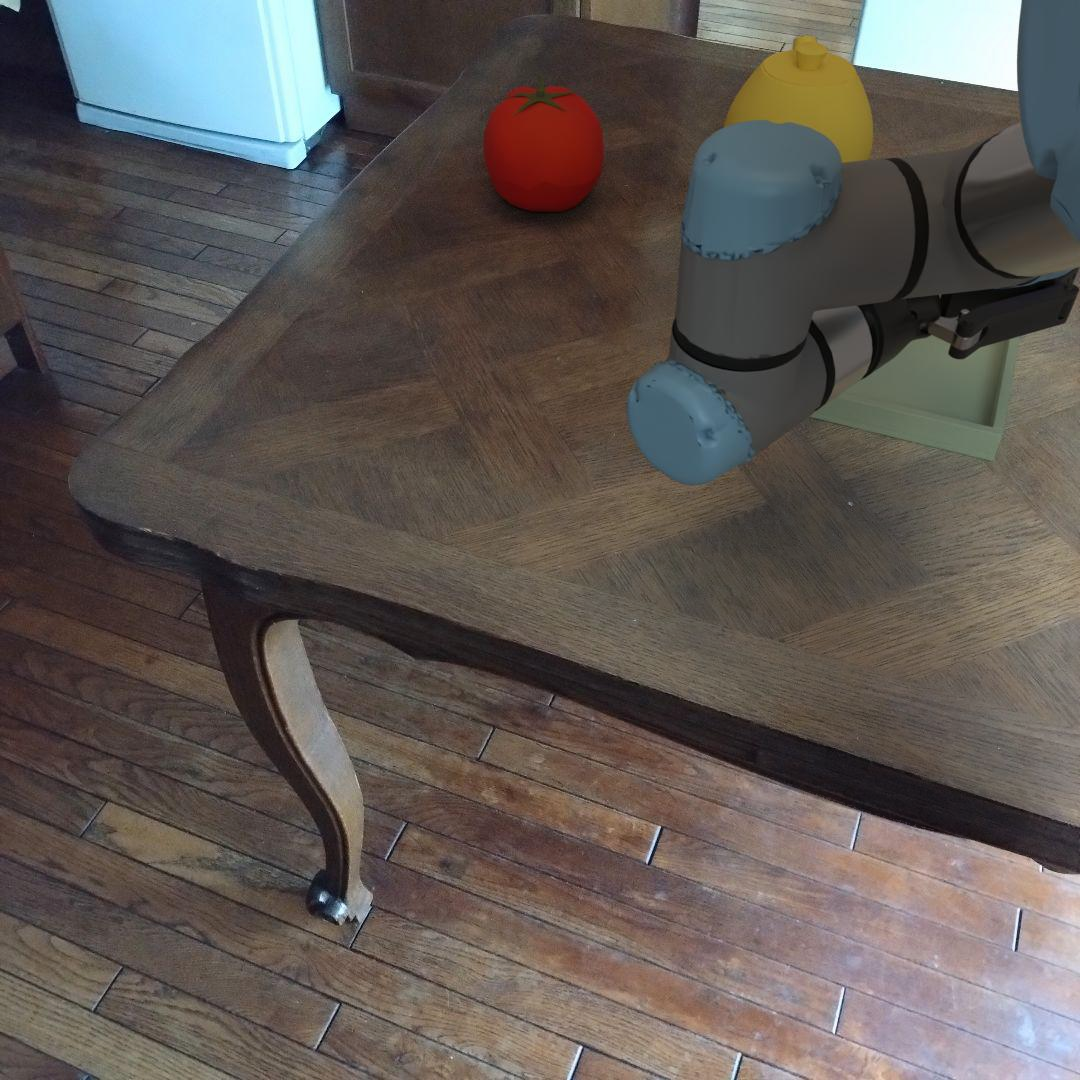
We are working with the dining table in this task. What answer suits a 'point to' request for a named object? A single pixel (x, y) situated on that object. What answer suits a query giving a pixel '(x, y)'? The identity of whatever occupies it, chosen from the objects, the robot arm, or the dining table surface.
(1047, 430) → the dining table surface
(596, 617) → the dining table surface
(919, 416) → the tray
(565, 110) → the tomato
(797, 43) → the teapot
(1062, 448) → the dining table surface
